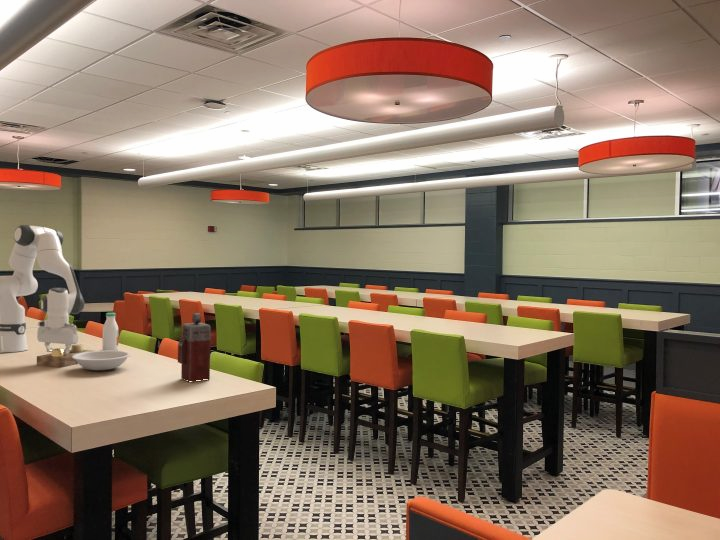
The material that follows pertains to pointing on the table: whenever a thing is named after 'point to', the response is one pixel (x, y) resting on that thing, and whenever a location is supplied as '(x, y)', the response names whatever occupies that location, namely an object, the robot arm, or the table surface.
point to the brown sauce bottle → (195, 350)
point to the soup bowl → (101, 359)
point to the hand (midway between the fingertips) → (57, 352)
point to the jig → (61, 358)
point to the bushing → (57, 352)
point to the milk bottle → (110, 333)
